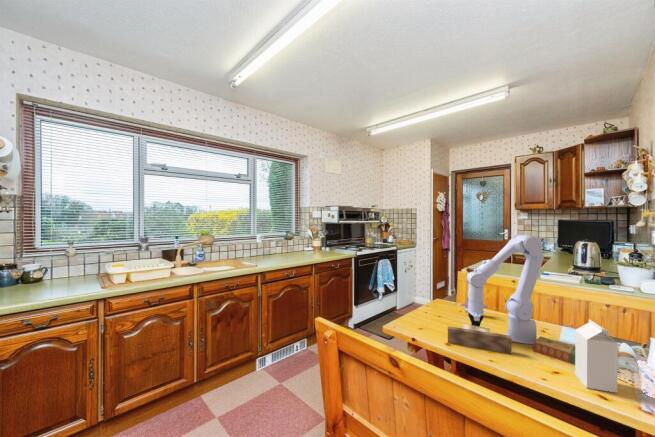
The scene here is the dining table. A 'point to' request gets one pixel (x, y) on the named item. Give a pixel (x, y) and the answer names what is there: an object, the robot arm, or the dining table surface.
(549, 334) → the dining table surface
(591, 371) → the milk carton
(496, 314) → the dining table surface
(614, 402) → the dining table surface
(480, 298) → the robot arm
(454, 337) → the walnut board
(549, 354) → the carton
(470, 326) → the maple block
